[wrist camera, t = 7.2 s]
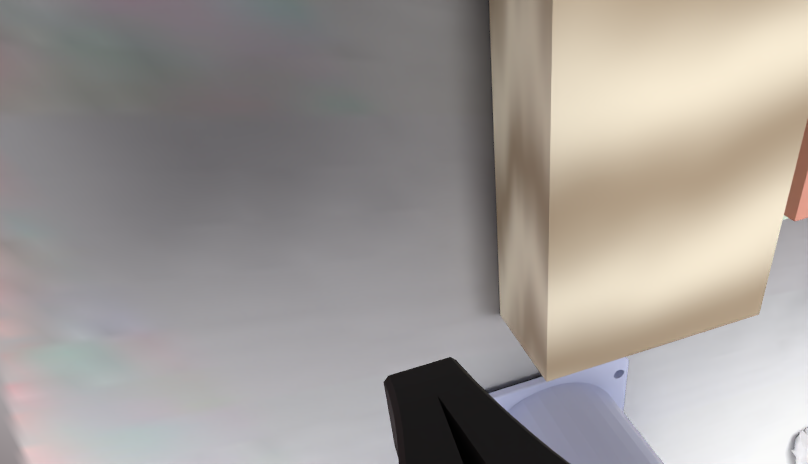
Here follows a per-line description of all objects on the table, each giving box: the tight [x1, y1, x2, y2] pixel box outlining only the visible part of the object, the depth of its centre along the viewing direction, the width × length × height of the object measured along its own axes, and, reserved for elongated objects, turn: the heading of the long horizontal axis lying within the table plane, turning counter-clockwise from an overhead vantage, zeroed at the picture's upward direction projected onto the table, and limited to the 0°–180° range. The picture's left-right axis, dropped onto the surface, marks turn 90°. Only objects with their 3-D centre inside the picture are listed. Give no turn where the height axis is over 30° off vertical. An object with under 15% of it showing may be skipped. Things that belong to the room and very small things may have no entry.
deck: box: [489, 0, 808, 382], centre depth 22 cm, size 14×9×4 cm, turn 7°
